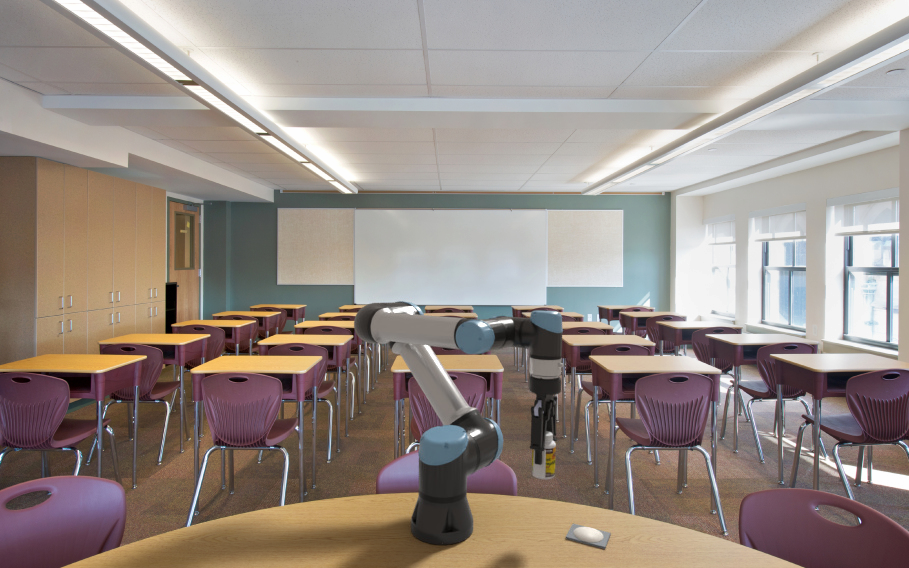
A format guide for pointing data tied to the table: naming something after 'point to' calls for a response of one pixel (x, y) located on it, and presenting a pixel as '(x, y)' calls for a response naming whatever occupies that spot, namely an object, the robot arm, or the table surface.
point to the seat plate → (588, 536)
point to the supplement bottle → (548, 456)
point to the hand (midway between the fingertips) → (543, 472)
